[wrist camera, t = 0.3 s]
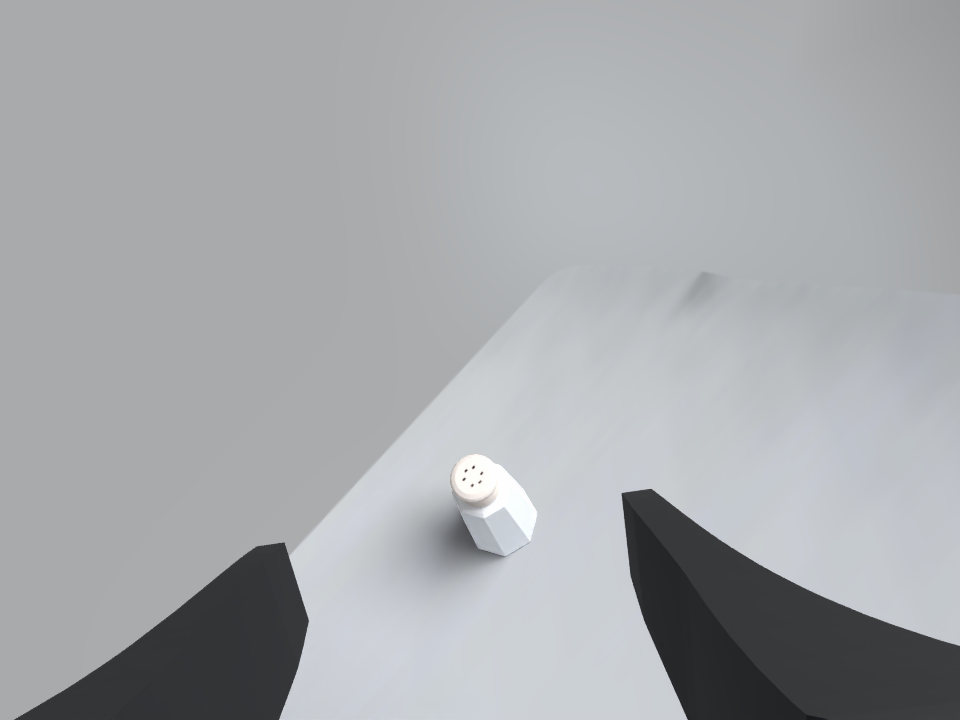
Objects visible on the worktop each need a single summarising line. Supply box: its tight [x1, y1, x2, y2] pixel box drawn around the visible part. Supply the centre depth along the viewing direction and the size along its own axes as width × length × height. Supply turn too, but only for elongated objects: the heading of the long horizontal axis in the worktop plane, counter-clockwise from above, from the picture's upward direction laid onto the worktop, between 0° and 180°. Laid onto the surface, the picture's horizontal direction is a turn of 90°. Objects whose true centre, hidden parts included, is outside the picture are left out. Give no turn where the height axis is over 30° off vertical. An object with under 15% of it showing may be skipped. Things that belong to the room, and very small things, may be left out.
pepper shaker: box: [450, 454, 537, 556], centre depth 38 cm, size 5×5×11 cm
